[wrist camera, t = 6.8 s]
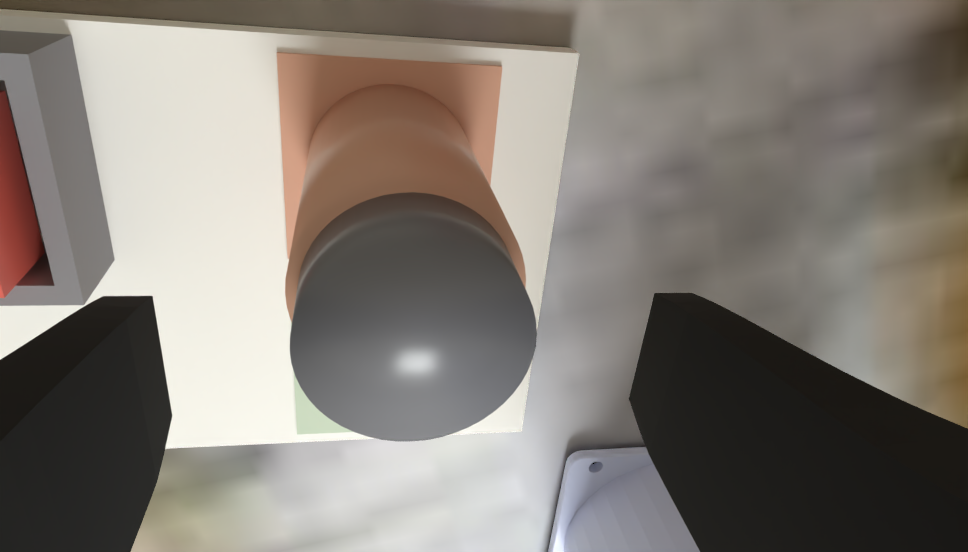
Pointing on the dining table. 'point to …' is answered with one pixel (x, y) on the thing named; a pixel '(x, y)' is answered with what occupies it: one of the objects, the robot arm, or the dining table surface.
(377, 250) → the brown and grey cylinder
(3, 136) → the button
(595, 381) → the dining table surface
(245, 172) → the picture board
